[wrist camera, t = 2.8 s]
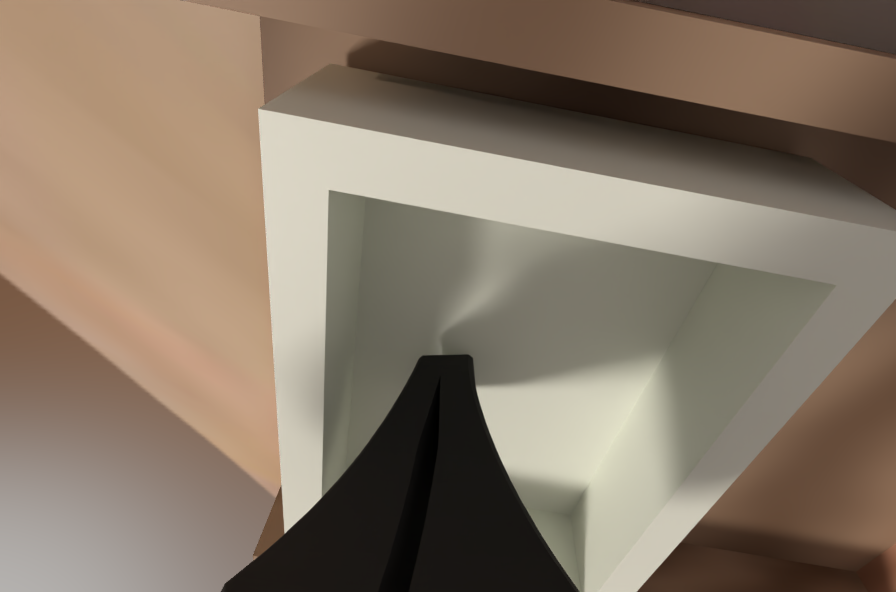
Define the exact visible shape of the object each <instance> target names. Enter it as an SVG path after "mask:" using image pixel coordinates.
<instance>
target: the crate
mask: <svg viewBox="0 0 896 592" xmlns="http://www.w3.org/2000/svg"><path fill="white" fill-rule="evenodd" d="M258 114H259V130H260V146H261V162H262V178H263V195H264V211H265V227H266V243H267V259H268V275H269V291H270V307H271V323H272V340H273V356H274V372H275V388H276V404H277V420H278V436H279V452H280V468H281V485H282V501H283V517H284V533H286V532H287V531H288V530H289V529H290V528H291V527H292V526H293V525H294V524H295V523H296V522H297V521H299V520H300V519H301V518H302V517H303V516H304V515H305V514H306V513H307V512H308V511H309V510H310V509H311V508H312V507H313V506H314V505H315V504H316V503H317V502H318V501H319V500H320V499H321V498H322V497H323V496H324V495H325V493H326V492H327V491H328V490H329V489H330V488H331V487H332V486H333V485H334V484H335V482H336V481H337V480H338V479H339V478H340V477H341V476H342V475H343V473H344V472H345V471H346V470H347V469H348V467H349V466H350V465H351V464H352V463H353V461H354V460H355V459H356V458H357V456H358V455H359V454H360V453H361V451H362V450H363V449H364V447H365V446H366V445H367V443H368V442H369V440H370V439H371V438H372V436H373V435H374V433H375V432H376V430H377V429H378V428H379V426H380V425H381V423H382V422H383V420H384V419H385V417H386V416H387V414H388V413H389V411H390V410H391V408H392V406H393V405H394V403H395V401H396V400H397V398H398V397H399V395H400V393H401V392H402V390H403V388H404V386H405V385H406V383H407V381H408V379H409V377H410V375H411V373H412V371H413V369H414V368H415V365H416V363H417V361H418V359H419V358H420V357H421V356H422V355H463V354H469V355H470V356H471V357H473V363H474V373H475V384H476V390H477V395H478V398H479V402H480V405H481V408H482V412H483V415H484V418H485V421H486V424H487V426H488V429H489V432H490V435H491V437H492V440H493V442H494V445H495V447H496V449H497V452H498V454H499V456H500V459H501V461H502V463H503V465H504V467H505V469H506V471H507V474H508V476H509V478H510V480H511V482H512V484H513V486H514V488H515V489H516V491H517V493H518V495H519V497H520V499H521V501H522V503H523V504H524V506H525V508H526V509H527V511H528V513H529V515H530V516H531V518H532V520H533V521H534V523H535V525H536V527H537V528H538V530H539V532H540V533H541V535H542V537H543V538H544V540H545V541H546V543H547V544H548V546H549V548H550V549H551V551H552V552H553V554H554V555H555V557H556V558H557V560H558V561H559V563H560V564H561V566H562V567H563V569H564V570H565V571H566V573H567V574H568V576H569V577H570V579H571V580H572V581H573V583H574V584H575V586H576V587H577V588H578V590H579V591H580V592H637V591H638V590H639V589H640V587H641V586H642V585H643V584H644V583H645V582H646V581H647V580H648V578H649V577H650V576H651V575H652V574H653V573H654V572H655V570H656V569H657V568H658V567H659V566H660V565H661V564H662V563H663V561H664V560H665V559H666V558H667V557H668V556H669V555H670V554H671V552H672V551H673V550H674V549H675V548H676V547H677V546H678V544H679V543H680V542H681V541H682V540H683V539H684V538H685V537H686V535H687V534H688V533H689V532H690V531H691V530H692V529H693V528H694V526H695V525H696V524H697V523H698V522H699V521H700V520H701V518H702V517H703V516H704V515H705V514H706V513H707V512H708V511H709V509H710V508H711V507H712V506H713V505H714V504H715V503H716V502H717V500H718V499H719V498H720V497H721V496H722V495H723V494H724V492H725V491H726V490H727V489H728V488H729V487H730V486H731V485H732V483H733V482H734V481H735V480H736V479H737V478H738V477H739V476H740V474H741V473H742V472H743V471H744V470H745V469H746V468H747V466H748V465H749V464H750V463H751V462H752V461H753V460H754V459H755V457H756V456H757V455H758V454H759V453H760V452H761V451H762V450H763V448H764V447H765V446H766V445H767V444H768V443H769V442H770V440H771V439H772V438H773V437H774V436H775V435H776V434H777V433H778V431H779V430H780V429H781V428H782V427H783V426H784V425H785V424H786V422H787V421H788V420H789V419H790V418H791V417H792V416H793V414H794V413H795V412H796V411H797V410H798V409H799V408H800V407H801V405H802V404H803V403H804V402H805V401H806V400H807V399H808V398H809V396H810V395H811V394H812V393H813V392H814V391H815V390H816V388H817V387H818V386H819V385H820V384H821V383H822V382H823V381H824V379H825V378H826V377H827V376H828V375H829V374H830V373H831V372H832V370H833V369H834V368H835V367H836V366H837V365H838V364H839V362H840V361H841V360H842V359H843V358H844V357H845V356H846V355H847V353H848V352H849V351H850V350H851V349H852V348H853V347H854V346H855V344H856V343H857V342H858V341H859V340H860V339H861V338H862V336H863V335H864V334H865V333H866V332H867V331H868V330H869V329H870V327H871V326H872V325H873V324H874V323H875V322H876V321H877V320H878V318H879V317H880V316H881V315H882V314H883V313H884V312H885V310H886V309H887V308H888V307H889V306H890V305H891V304H892V303H893V301H894V300H895V299H896V210H895V209H893V208H892V207H890V206H888V205H887V204H885V203H884V202H882V201H880V200H879V199H877V198H875V197H874V196H872V195H871V194H869V193H867V192H866V191H864V190H862V189H861V188H859V187H858V186H856V185H854V184H853V183H851V182H849V181H848V180H846V179H845V178H843V177H841V176H840V175H838V174H836V173H835V172H833V171H832V170H830V169H828V168H827V167H825V166H823V165H822V164H820V163H818V162H817V161H815V160H814V159H812V158H809V157H804V156H799V155H794V154H789V153H784V152H778V151H773V150H768V149H763V148H758V147H753V146H748V145H743V144H738V143H733V142H728V141H723V140H717V139H712V138H707V137H702V136H697V135H692V134H687V133H682V132H677V131H672V130H667V129H662V128H656V127H651V126H646V125H641V124H636V123H631V122H626V121H621V120H616V119H611V118H606V117H601V116H595V115H590V114H585V113H580V112H575V111H570V110H565V109H560V108H555V107H550V106H545V105H540V104H534V103H529V102H524V101H519V100H514V99H509V98H504V97H499V96H494V95H489V94H484V93H479V92H473V91H468V90H463V89H458V88H453V87H448V86H443V85H438V84H433V83H428V82H423V81H418V80H412V79H407V78H402V77H397V76H392V75H387V74H382V73H377V72H372V71H367V70H362V69H357V68H352V67H346V66H341V65H336V64H331V63H330V64H329V65H327V66H326V67H324V68H322V69H321V70H319V71H318V72H316V73H314V74H313V75H311V76H310V77H308V78H306V79H305V80H303V81H302V82H300V83H298V84H297V85H295V86H294V87H292V88H290V89H289V90H287V91H286V92H284V93H282V94H281V95H279V96H278V97H276V98H274V99H273V100H271V101H270V102H268V103H267V104H265V105H263V106H262V107H260V108H259V109H258Z"/></svg>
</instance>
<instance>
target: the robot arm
mask: <svg viewBox="0 0 896 592" xmlns="http://www.w3.org/2000/svg"><path fill="white" fill-rule="evenodd" d="M221 592H580V591H579V590H578V588H577V587H576V586H575V584H574V583H573V581H572V580H571V579H570V577H569V576H568V574H567V573H566V571H565V570H564V569H563V567H562V566H561V564H560V563H559V561H558V560H557V558H556V557H555V555H554V554H553V552H552V551H551V549H550V548H549V546H548V544H547V543H546V541H545V540H544V538H543V537H542V535H541V533H540V532H539V530H538V528H537V527H536V525H535V523H534V521H533V520H532V518H531V516H530V515H529V513H528V511H527V509H526V508H525V506H524V504H523V503H522V501H521V499H520V497H519V495H518V493H517V491H516V489H515V488H514V486H513V484H512V482H511V480H510V478H509V476H508V474H507V471H506V469H505V467H504V465H503V463H502V461H501V459H500V456H499V454H498V452H497V449H496V447H495V445H494V442H493V440H492V437H491V435H490V432H489V429H488V426H487V424H486V421H485V418H484V415H483V412H482V408H481V405H480V402H479V398H478V395H477V390H476V384H475V373H474V363H473V357H471V356H470V355H469V354H463V355H422V356H421V357H420V358H419V359H418V361H417V363H416V365H415V368H414V369H413V371H412V373H411V375H410V377H409V379H408V381H407V383H406V385H405V386H404V388H403V390H402V392H401V393H400V395H399V397H398V398H397V400H396V401H395V403H394V405H393V406H392V408H391V410H390V411H389V413H388V414H387V416H386V417H385V419H384V420H383V422H382V423H381V425H380V426H379V428H378V429H377V430H376V432H375V433H374V435H373V436H372V438H371V439H370V440H369V442H368V443H367V445H366V446H365V447H364V449H363V450H362V451H361V453H360V454H359V455H358V456H357V458H356V459H355V460H354V461H353V463H352V464H351V465H350V466H349V467H348V469H347V470H346V471H345V472H344V473H343V475H342V476H341V477H340V478H339V479H338V480H337V481H336V482H335V484H334V485H333V486H332V487H331V488H330V489H329V490H328V491H327V492H326V493H325V495H324V496H323V497H322V498H321V499H320V500H319V501H318V502H317V503H316V504H315V505H314V506H313V507H312V508H311V509H310V510H309V511H308V512H307V513H306V514H305V515H304V516H303V517H302V518H301V519H300V520H299V521H297V522H296V523H295V524H294V525H293V526H292V527H291V528H290V529H289V530H288V531H287V532H286V533H285V534H284V535H283V536H282V537H280V538H279V539H278V540H277V541H276V542H275V543H274V544H273V545H272V546H270V547H269V548H268V549H267V550H266V551H264V552H263V553H262V554H261V555H260V556H258V557H257V558H256V559H255V560H254V561H252V562H251V563H250V564H249V565H248V566H246V567H245V568H244V569H243V570H241V571H240V572H239V573H238V574H236V575H235V576H234V577H233V578H231V579H230V580H229V581H228V582H226V583H225V585H224V587H223V589H222V591H221Z"/></svg>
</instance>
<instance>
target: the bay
mask: <svg viewBox="0 0 896 592" xmlns="http://www.w3.org/2000/svg"><path fill="white" fill-rule="evenodd" d="M182 1H187V2H192V3H197V4H202V5H207V6H212V7H217V8H222V9H227V10H232V11H237V12H242V13H247V14H252V15H257V16H260V28H261V46H262V65H263V83H264V102H265V104H267V103H268V102H270V101H271V100H273V99H274V98H276V97H278V96H279V95H281V94H282V93H284V92H286V91H287V90H289V89H290V88H292V87H294V86H295V85H297V84H298V83H300V82H302V81H303V80H305V79H306V78H308V77H310V76H311V75H313V74H314V73H316V72H318V71H319V70H321V69H322V68H324V67H326V66H327V65H329V64H330V63H331V64H336V65H341V66H346V67H352V68H357V69H362V70H367V71H372V72H377V73H382V74H387V75H392V76H397V77H402V78H407V79H412V80H418V81H423V82H428V83H433V84H438V85H443V86H448V87H453V88H458V89H463V90H468V91H473V92H479V93H484V94H489V95H494V96H499V97H504V98H509V99H514V100H519V101H524V102H529V103H534V104H540V105H545V106H550V107H555V108H560V109H565V110H570V111H575V112H580V113H585V114H590V115H595V116H601V117H606V118H611V119H616V120H621V121H626V122H631V123H636V124H641V125H646V126H651V127H656V128H662V129H667V130H672V131H677V132H682V133H687V134H692V135H697V136H702V137H707V138H712V139H717V140H723V141H728V142H733V143H738V144H743V145H748V146H753V147H758V148H763V149H768V150H773V151H778V152H784V153H789V154H794V155H799V156H804V157H809V158H812V159H814V160H815V161H817V162H818V163H820V164H822V165H823V166H825V167H827V168H828V169H830V170H832V171H833V172H835V173H836V174H838V175H840V176H841V177H843V178H845V179H846V180H848V181H849V182H851V183H853V184H854V185H856V186H858V187H859V188H861V189H862V190H864V191H866V192H867V193H869V194H871V195H872V196H874V197H875V198H877V199H879V200H880V201H882V202H884V203H885V204H887V205H888V206H890V207H892V208H893V209H895V210H896V54H891V53H886V52H882V51H877V50H872V49H867V48H862V47H857V46H852V45H847V44H843V43H838V42H833V41H828V40H823V39H818V38H813V37H809V36H804V35H799V34H794V33H789V32H784V31H779V30H775V29H770V28H765V27H760V26H755V25H750V24H745V23H741V22H736V21H731V20H726V19H721V18H716V17H711V16H706V15H702V14H697V13H692V12H687V11H682V10H677V9H672V8H668V7H663V6H658V5H653V4H648V3H643V2H638V1H634V0H182ZM284 534H285V533H284V517H283V501H282V485H281V487H280V490H279V492H278V495H277V497H276V500H275V502H274V505H273V507H272V510H271V512H270V515H269V517H268V519H267V522H266V524H265V527H264V530H263V532H262V534H261V537H260V540H259V542H258V544H257V547H256V549H255V552H254V554H253V561H254V560H255V559H256V558H257V557H258V556H260V555H261V554H262V553H263V552H264V551H266V550H267V549H268V548H269V547H270V546H272V545H273V544H274V543H275V542H276V541H277V540H278V539H279V538H280V537H282V536H283V535H284ZM637 592H896V299H895V300H894V301H893V303H892V304H891V305H890V306H889V307H888V308H887V309H886V310H885V312H884V313H883V314H882V315H881V316H880V317H879V318H878V320H877V321H876V322H875V323H874V324H873V325H872V326H871V327H870V329H869V330H868V331H867V332H866V333H865V334H864V335H863V336H862V338H861V339H860V340H859V341H858V342H857V343H856V344H855V346H854V347H853V348H852V349H851V350H850V351H849V352H848V353H847V355H846V356H845V357H844V358H843V359H842V360H841V361H840V362H839V364H838V365H837V366H836V367H835V368H834V369H833V370H832V372H831V373H830V374H829V375H828V376H827V377H826V378H825V379H824V381H823V382H822V383H821V384H820V385H819V386H818V387H817V388H816V390H815V391H814V392H813V393H812V394H811V395H810V396H809V398H808V399H807V400H806V401H805V402H804V403H803V404H802V405H801V407H800V408H799V409H798V410H797V411H796V412H795V413H794V414H793V416H792V417H791V418H790V419H789V420H788V421H787V422H786V424H785V425H784V426H783V427H782V428H781V429H780V430H779V431H778V433H777V434H776V435H775V436H774V437H773V438H772V439H771V440H770V442H769V443H768V444H767V445H766V446H765V447H764V448H763V450H762V451H761V452H760V453H759V454H758V455H757V456H756V457H755V459H754V460H753V461H752V462H751V463H750V464H749V465H748V466H747V468H746V469H745V470H744V471H743V472H742V473H741V474H740V476H739V477H738V478H737V479H736V480H735V481H734V482H733V483H732V485H731V486H730V487H729V488H728V489H727V490H726V491H725V492H724V494H723V495H722V496H721V497H720V498H719V499H718V500H717V502H716V503H715V504H714V505H713V506H712V507H711V508H710V509H709V511H708V512H707V513H706V514H705V515H704V516H703V517H702V518H701V520H700V521H699V522H698V523H697V524H696V525H695V526H694V528H693V529H692V530H691V531H690V532H689V533H688V534H687V535H686V537H685V538H684V539H683V540H682V541H681V542H680V543H679V544H678V546H677V547H676V548H675V549H674V550H673V551H672V552H671V554H670V555H669V556H668V557H667V558H666V559H665V560H664V561H663V563H662V564H661V565H660V566H659V567H658V568H657V569H656V570H655V572H654V573H653V574H652V575H651V576H650V577H649V578H648V580H647V581H646V582H645V583H644V584H643V585H642V586H641V587H640V589H639V590H638V591H637Z"/></svg>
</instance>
